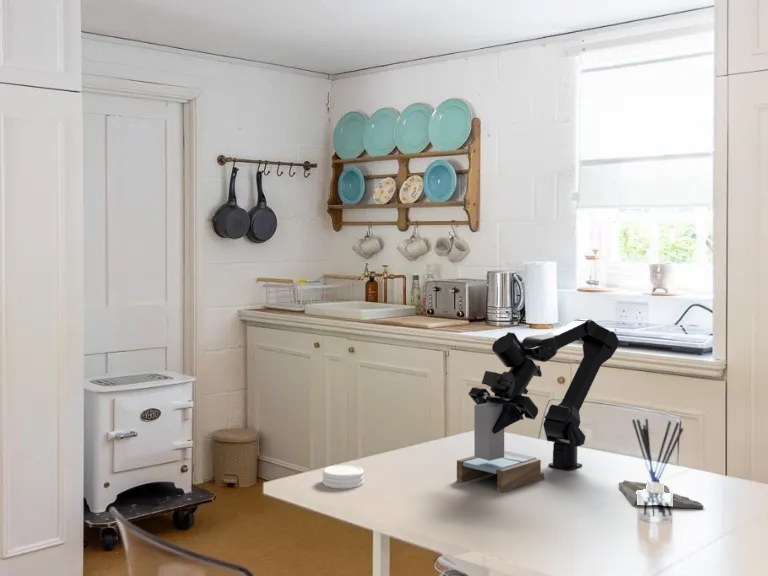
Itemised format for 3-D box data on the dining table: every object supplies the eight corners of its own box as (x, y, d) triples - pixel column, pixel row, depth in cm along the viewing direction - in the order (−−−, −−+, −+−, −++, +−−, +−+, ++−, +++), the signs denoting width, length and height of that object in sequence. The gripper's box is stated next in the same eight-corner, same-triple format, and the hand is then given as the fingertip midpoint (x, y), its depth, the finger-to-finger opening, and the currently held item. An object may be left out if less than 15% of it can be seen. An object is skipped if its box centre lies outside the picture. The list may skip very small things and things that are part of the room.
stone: (489, 453, 219) (489, 402, 218) (504, 457, 215) (504, 405, 214) (474, 456, 216) (474, 405, 215) (489, 460, 212) (489, 408, 211)
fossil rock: (615, 488, 215) (615, 478, 215) (678, 489, 215) (678, 479, 215) (635, 511, 197) (635, 500, 197) (704, 511, 197) (704, 500, 197)
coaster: (335, 492, 211) (335, 477, 211) (315, 482, 219) (315, 468, 219) (371, 485, 216) (371, 471, 216) (350, 476, 225) (350, 462, 225)
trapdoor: (536, 469, 222) (536, 456, 222) (495, 482, 211) (495, 468, 211) (503, 462, 229) (504, 449, 229) (463, 474, 218) (463, 461, 218)
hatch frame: (544, 478, 221) (544, 458, 221) (502, 492, 210) (502, 471, 210) (498, 468, 231) (499, 448, 231) (456, 480, 220) (456, 460, 219)
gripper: (473, 354, 224) (440, 404, 218) (530, 362, 209) (496, 416, 203) (496, 382, 229) (464, 431, 223) (552, 392, 215) (520, 445, 209)
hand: (485, 430), depth 214 cm, fingers closed on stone, 5 cm apart
